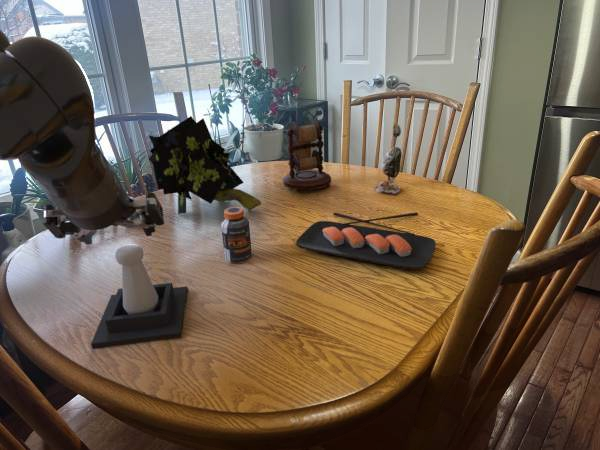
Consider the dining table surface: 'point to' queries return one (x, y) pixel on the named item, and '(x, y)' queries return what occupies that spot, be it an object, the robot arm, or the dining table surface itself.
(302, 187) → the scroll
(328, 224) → the sushi plate
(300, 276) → the dining table surface
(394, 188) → the grey upright piece
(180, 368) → the dining table surface
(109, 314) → the base pad
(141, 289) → the salt shaker
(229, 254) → the pill bottle
